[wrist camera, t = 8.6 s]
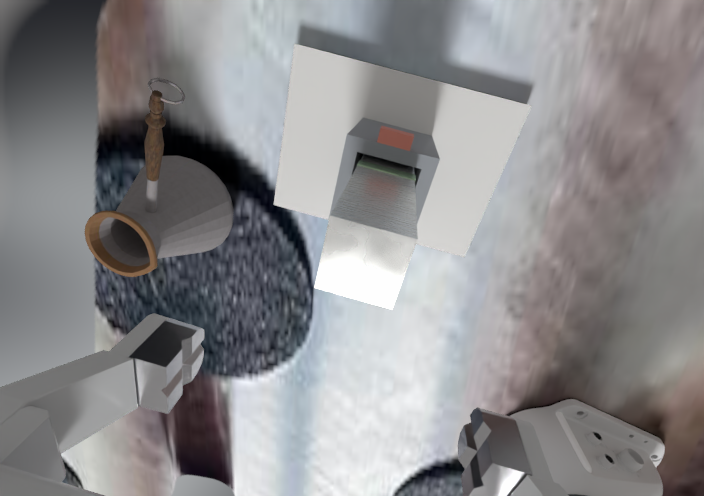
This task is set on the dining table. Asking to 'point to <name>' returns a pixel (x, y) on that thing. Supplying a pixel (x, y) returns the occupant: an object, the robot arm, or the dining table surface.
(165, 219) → the coffee pot
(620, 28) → the dining table surface
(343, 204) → the column
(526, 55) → the dining table surface
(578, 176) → the dining table surface
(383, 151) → the stand
